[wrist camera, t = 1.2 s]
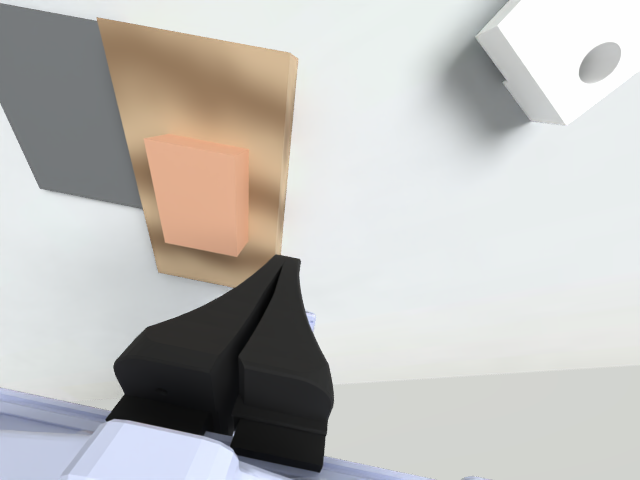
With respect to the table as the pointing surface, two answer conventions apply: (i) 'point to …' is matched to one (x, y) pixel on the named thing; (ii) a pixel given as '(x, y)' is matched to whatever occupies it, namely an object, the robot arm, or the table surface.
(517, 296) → the table surface
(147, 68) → the board
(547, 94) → the bracket
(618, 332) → the table surface
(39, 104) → the mat
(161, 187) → the block
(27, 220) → the table surface
